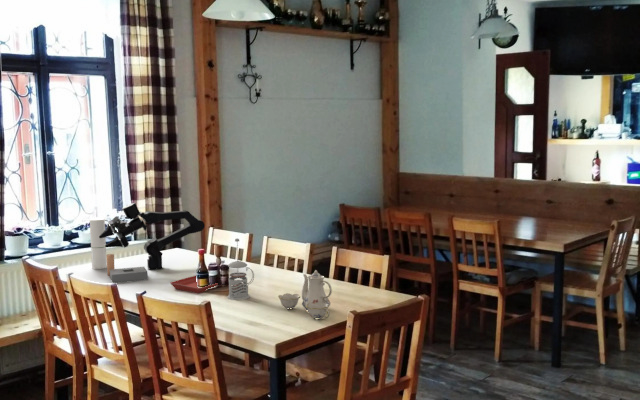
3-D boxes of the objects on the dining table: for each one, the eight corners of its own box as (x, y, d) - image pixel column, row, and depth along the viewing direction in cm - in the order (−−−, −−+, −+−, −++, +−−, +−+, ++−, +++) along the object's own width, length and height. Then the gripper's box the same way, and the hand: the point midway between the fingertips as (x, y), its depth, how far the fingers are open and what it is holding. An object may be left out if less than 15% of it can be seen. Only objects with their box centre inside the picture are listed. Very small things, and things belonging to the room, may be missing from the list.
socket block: (144, 274, 326) (144, 266, 326) (147, 279, 315) (147, 271, 315) (110, 277, 320) (109, 269, 320) (112, 283, 309) (111, 274, 309)
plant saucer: (227, 286, 303) (227, 279, 302) (199, 295, 288) (199, 287, 287) (198, 281, 313) (197, 274, 312) (169, 290, 298) (169, 282, 297)
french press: (224, 295, 286) (222, 237, 283) (250, 292, 290) (249, 235, 288) (229, 301, 277) (228, 241, 274) (257, 298, 281) (255, 239, 278)
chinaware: (271, 313, 265) (267, 273, 262) (302, 300, 276) (298, 262, 273) (321, 328, 245) (317, 285, 242) (352, 314, 256) (349, 272, 253)
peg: (114, 273, 329) (113, 253, 327) (115, 275, 325) (114, 255, 324) (107, 274, 327) (106, 254, 326) (107, 276, 324) (106, 255, 323)
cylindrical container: (109, 266, 347) (106, 218, 344) (103, 269, 339) (101, 220, 337) (95, 265, 347) (93, 218, 344) (89, 268, 340) (87, 220, 337)
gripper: (119, 205, 334) (90, 220, 329) (132, 223, 321) (102, 238, 316) (127, 222, 341) (98, 237, 336) (140, 240, 328) (110, 255, 322)
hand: (102, 241), depth 327 cm, fingers open, 9 cm apart
